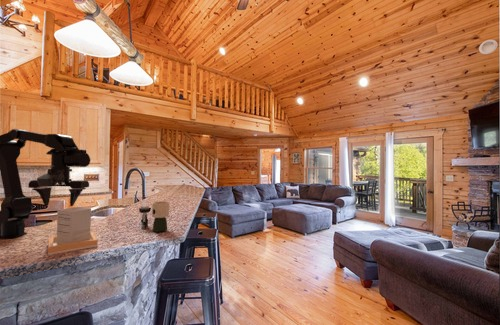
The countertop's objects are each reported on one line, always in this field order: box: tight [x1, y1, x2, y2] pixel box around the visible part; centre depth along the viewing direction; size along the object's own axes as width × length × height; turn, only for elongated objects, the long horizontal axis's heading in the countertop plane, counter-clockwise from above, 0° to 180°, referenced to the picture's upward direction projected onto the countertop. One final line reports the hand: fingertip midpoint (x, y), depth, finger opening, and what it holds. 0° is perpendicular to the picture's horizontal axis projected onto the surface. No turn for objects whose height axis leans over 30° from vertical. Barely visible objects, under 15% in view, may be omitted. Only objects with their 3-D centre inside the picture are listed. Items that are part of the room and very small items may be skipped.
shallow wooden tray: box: [47, 230, 99, 256], centre depth 82 cm, size 13×13×2 cm
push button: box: [138, 205, 152, 229], centre depth 107 cm, size 7×5×10 cm
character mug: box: [151, 200, 170, 233], centre depth 102 cm, size 11×7×13 cm, turn 24°
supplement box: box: [56, 206, 92, 245], centre depth 83 cm, size 7×7×13 cm
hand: (59, 205), depth 88 cm, fingers open, 9 cm apart
